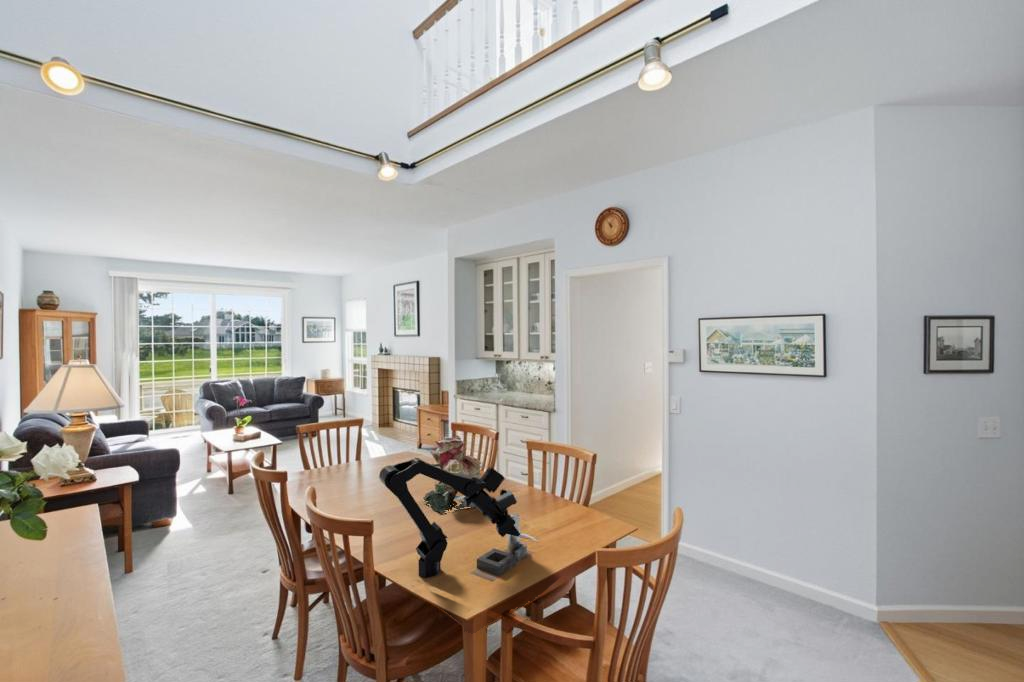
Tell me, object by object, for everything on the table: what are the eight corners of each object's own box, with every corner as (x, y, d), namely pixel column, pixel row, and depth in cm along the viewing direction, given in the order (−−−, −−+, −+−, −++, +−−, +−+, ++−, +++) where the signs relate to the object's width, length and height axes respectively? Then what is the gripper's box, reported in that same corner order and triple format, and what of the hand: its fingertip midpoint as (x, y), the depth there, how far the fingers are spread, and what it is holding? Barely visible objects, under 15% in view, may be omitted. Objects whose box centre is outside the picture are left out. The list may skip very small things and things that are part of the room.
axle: (515, 555, 156) (515, 519, 156) (505, 552, 158) (505, 516, 158) (522, 550, 159) (521, 515, 159) (512, 547, 161) (512, 512, 161)
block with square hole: (492, 586, 141) (492, 571, 141) (469, 577, 146) (469, 563, 146) (533, 556, 160) (533, 543, 160) (512, 549, 165) (512, 537, 165)
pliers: (512, 543, 167) (498, 528, 181) (513, 548, 168) (498, 532, 181) (537, 538, 171) (521, 523, 185) (538, 543, 171) (521, 527, 185)
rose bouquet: (446, 518, 194) (445, 446, 194) (415, 499, 218) (415, 435, 218) (497, 505, 210) (496, 438, 209) (463, 488, 233) (462, 428, 233)
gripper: (508, 493, 148) (542, 524, 151) (495, 476, 166) (525, 504, 169) (484, 521, 146) (518, 552, 149) (473, 501, 164) (504, 529, 167)
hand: (517, 532), depth 159 cm, fingers closed on axle, 4 cm apart
